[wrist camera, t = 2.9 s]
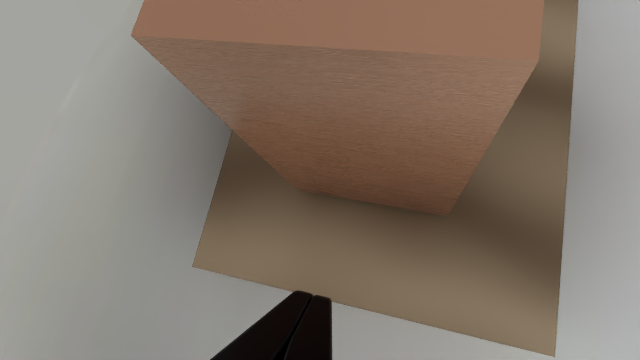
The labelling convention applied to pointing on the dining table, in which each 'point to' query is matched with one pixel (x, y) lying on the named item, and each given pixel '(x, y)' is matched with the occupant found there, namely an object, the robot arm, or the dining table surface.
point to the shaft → (355, 85)
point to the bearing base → (423, 225)
